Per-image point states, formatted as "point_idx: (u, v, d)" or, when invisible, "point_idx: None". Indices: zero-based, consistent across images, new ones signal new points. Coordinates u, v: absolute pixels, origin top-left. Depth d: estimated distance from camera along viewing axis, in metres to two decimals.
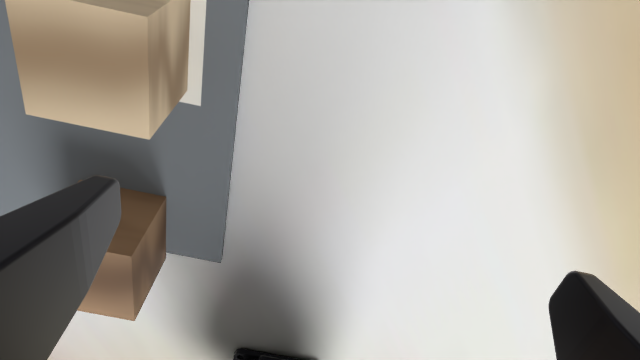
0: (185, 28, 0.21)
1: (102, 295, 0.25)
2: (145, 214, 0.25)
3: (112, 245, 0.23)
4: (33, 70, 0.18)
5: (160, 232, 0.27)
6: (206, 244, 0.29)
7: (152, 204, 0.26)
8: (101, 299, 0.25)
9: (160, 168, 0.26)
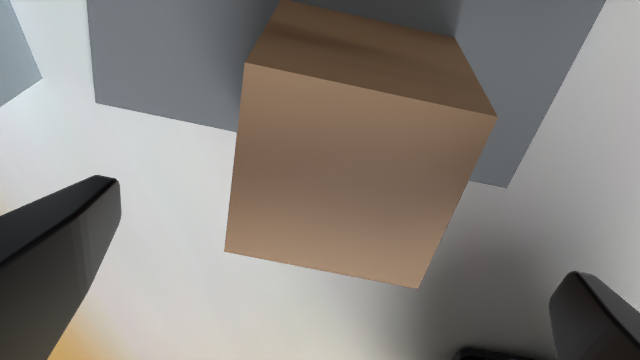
0: None
1: (371, 228, 0.11)
2: (447, 55, 0.12)
3: (438, 94, 0.09)
4: None
5: None
6: (495, 149, 0.15)
7: (442, 44, 0.12)
8: (364, 238, 0.11)
9: None
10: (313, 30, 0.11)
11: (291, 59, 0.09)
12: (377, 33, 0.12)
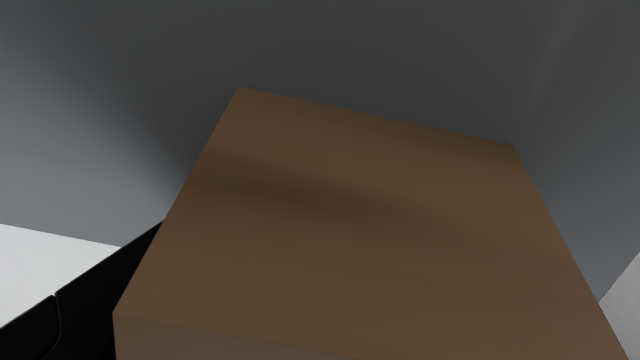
0: None
1: None
2: (511, 198, 0.07)
3: (526, 348, 0.05)
4: None
5: None
6: None
7: (497, 165, 0.08)
8: None
9: (543, 36, 0.07)
10: (282, 164, 0.06)
11: (224, 277, 0.05)
12: (392, 153, 0.07)
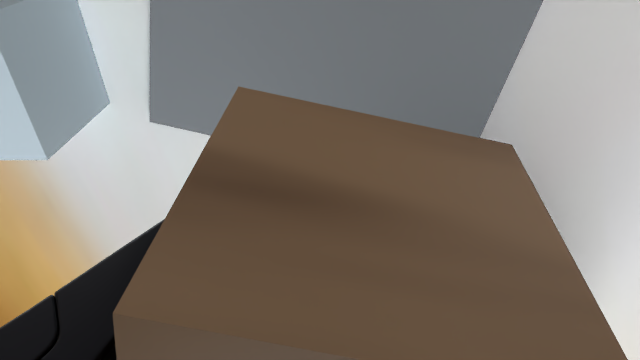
0: None
1: None
2: (511, 198, 0.07)
3: (525, 348, 0.05)
4: None
5: None
6: None
7: (497, 165, 0.08)
8: None
9: (419, 32, 0.17)
10: (282, 165, 0.06)
11: (224, 278, 0.05)
12: (392, 153, 0.07)
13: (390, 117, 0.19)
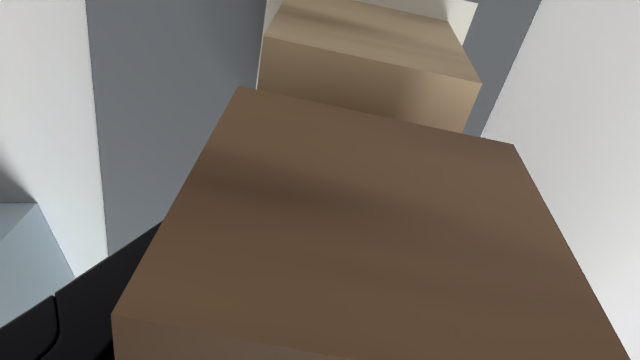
0: None
1: None
2: (512, 198, 0.07)
3: (528, 350, 0.05)
4: None
5: None
6: None
7: (498, 165, 0.08)
8: None
9: None
10: (281, 165, 0.06)
11: (223, 278, 0.05)
12: (393, 153, 0.07)
13: None
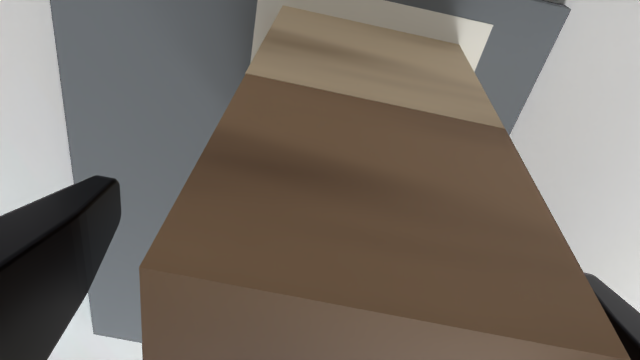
0: None
1: None
2: (503, 176, 0.07)
3: (512, 303, 0.05)
4: None
5: None
6: None
7: (490, 147, 0.08)
8: None
9: None
10: (288, 144, 0.07)
11: (237, 240, 0.05)
12: (391, 135, 0.08)
13: None
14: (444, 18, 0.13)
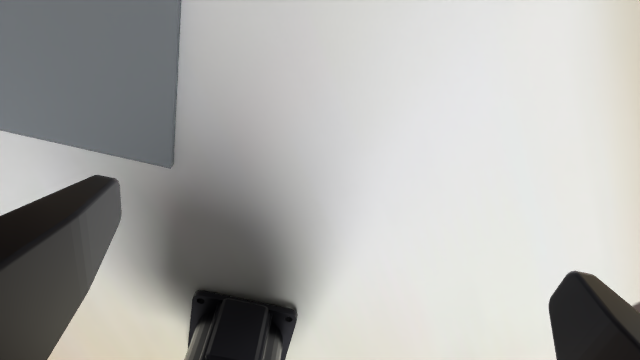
0: None
1: None
2: None
3: None
4: None
5: None
6: (151, 141, 0.22)
7: None
8: None
9: (84, 22, 0.19)
10: None
11: None
12: None
13: (88, 100, 0.21)
14: None
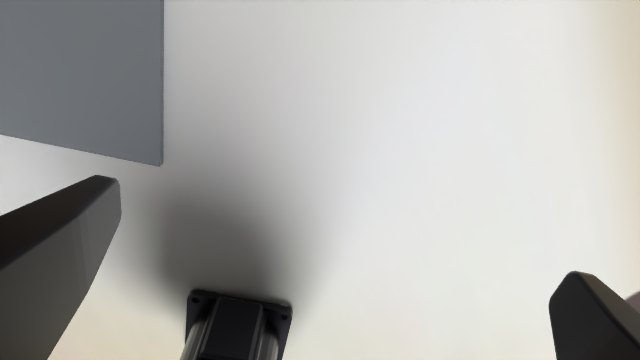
0: None
1: None
2: None
3: None
4: None
5: None
6: (140, 139, 0.22)
7: None
8: None
9: (68, 22, 0.19)
10: None
11: None
12: None
13: (76, 100, 0.22)
14: None
